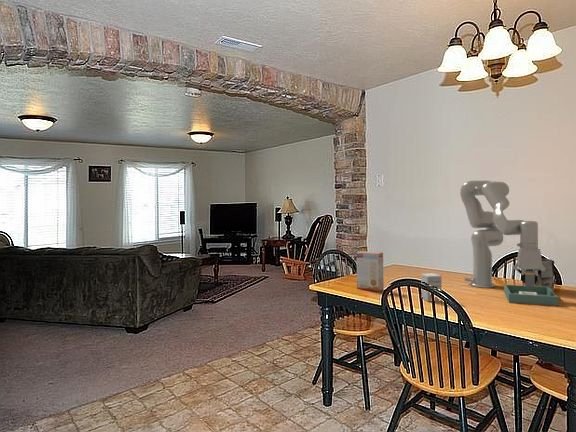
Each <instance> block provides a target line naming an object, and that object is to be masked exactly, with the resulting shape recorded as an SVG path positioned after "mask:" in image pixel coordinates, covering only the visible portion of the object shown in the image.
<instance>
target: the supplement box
mask: <svg viewBox="0 0 576 432" xmlns="http://www.w3.org/2000/svg"><path fill="white" fill-rule="evenodd" d="M422 282H425V283H427V284H429V285H431V286H434V287H437V288H438V289H440V290H441V291H442V282H443V281H442V275H439V274H437V273H434V272H430V273H421V283H422ZM421 293H422V294H421V297H422V296H423V299H422V300H424V301H426V302H427V301H431V295H430V293H429V292H427V291H424V290H422V289H421ZM435 301H436V302H440V301H439V299H438V298H437V297H435Z"/></svg>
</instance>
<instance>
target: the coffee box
mask: <svg viewBox="0 0 576 432" xmlns="http://www.w3.org/2000/svg"><path fill="white" fill-rule="evenodd" d="M541 259H542V264H543V266H544V267H545V268H546V270H544V271H542V272H541V273H540V274H538V276H537V282H536V284H535V286H539V287H549V288H550V289H551V290H552V291H553V292H554V291H555V260H552V259H550V258H541ZM539 270H540V269H539ZM537 271H538V270H537Z"/></svg>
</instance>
